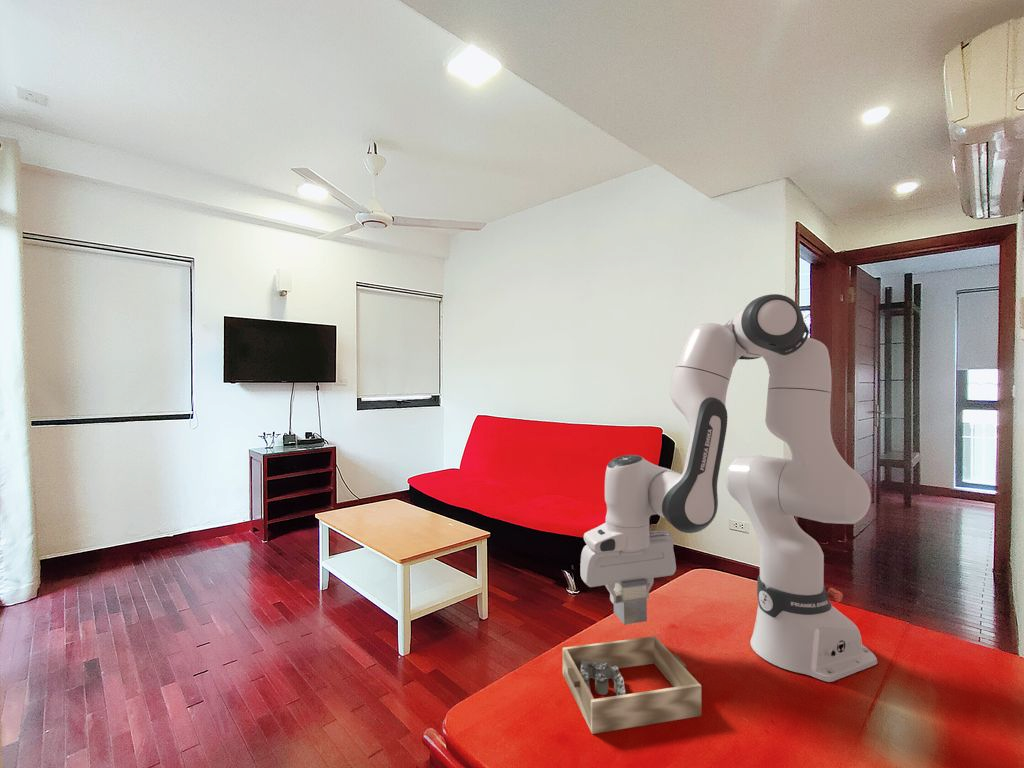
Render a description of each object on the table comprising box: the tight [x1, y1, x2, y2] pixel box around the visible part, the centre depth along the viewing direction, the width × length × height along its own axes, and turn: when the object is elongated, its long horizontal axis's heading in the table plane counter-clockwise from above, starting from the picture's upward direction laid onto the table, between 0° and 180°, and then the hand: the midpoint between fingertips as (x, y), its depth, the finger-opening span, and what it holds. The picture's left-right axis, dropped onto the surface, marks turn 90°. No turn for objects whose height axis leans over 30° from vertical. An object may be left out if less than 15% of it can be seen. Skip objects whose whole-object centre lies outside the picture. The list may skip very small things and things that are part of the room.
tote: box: [562, 635, 702, 735], centre depth 82 cm, size 21×15×5 cm
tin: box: [612, 578, 648, 626], centre depth 97 cm, size 5×5×8 cm
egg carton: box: [581, 660, 626, 696], centre depth 81 cm, size 11×8×4 cm
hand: (629, 599), depth 97 cm, fingers closed on tin, 5 cm apart
